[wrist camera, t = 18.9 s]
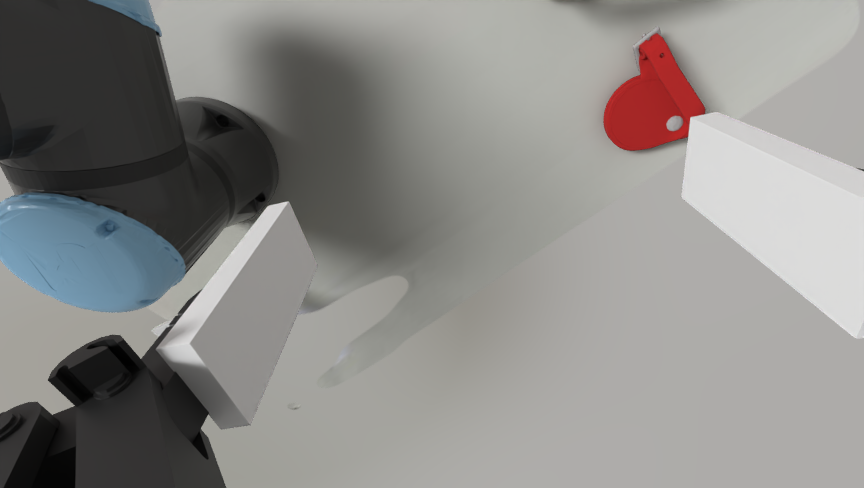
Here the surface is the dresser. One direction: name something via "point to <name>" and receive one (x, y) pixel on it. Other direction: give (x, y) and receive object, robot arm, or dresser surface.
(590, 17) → the dresser surface
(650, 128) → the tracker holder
